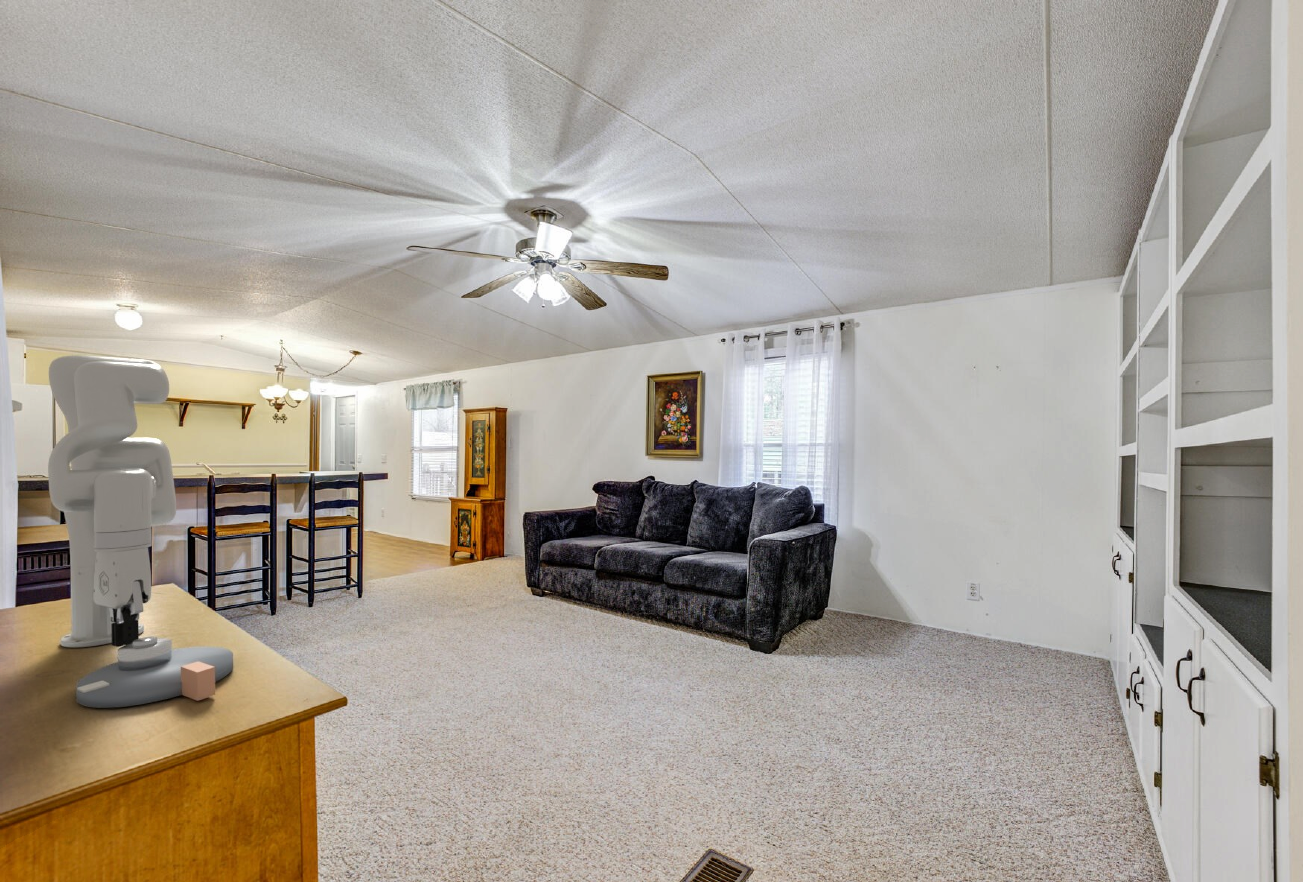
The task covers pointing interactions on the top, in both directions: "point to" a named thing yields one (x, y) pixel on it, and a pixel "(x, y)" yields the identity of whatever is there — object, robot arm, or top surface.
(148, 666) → the cover
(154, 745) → the top surface
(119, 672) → the turntable
